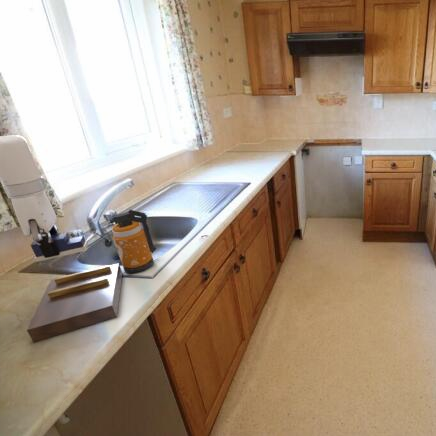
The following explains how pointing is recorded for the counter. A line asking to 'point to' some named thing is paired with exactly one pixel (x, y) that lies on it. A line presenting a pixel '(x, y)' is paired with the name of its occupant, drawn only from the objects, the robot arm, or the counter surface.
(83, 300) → the brown rectangular slab
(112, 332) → the counter surface
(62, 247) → the blue box
